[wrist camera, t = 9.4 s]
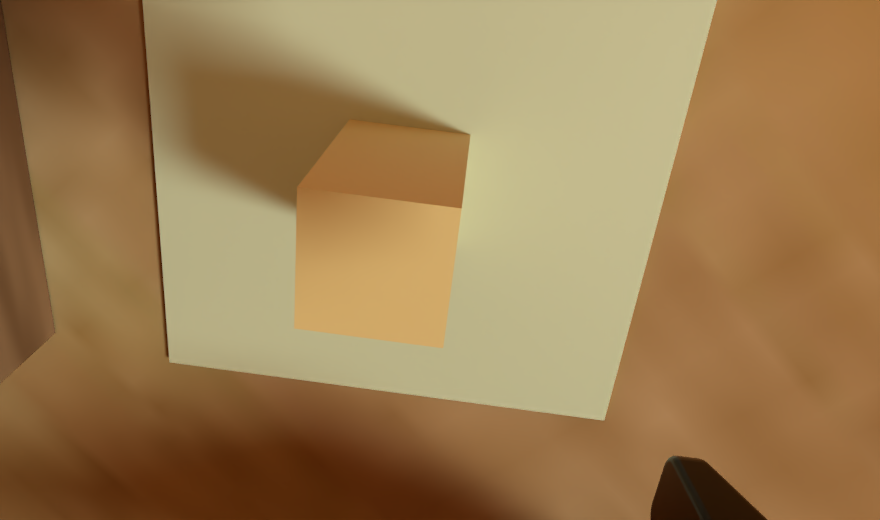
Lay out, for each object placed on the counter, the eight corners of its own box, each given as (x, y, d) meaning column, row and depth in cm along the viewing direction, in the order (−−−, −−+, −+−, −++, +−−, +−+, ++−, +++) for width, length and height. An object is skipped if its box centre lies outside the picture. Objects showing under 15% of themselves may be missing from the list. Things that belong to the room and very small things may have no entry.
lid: (723, -65, 15) (841, -63, 10) (600, 403, 21) (635, 559, 16) (148, -135, 16) (-26, -168, 10) (180, 347, 21) (77, 483, 16)
